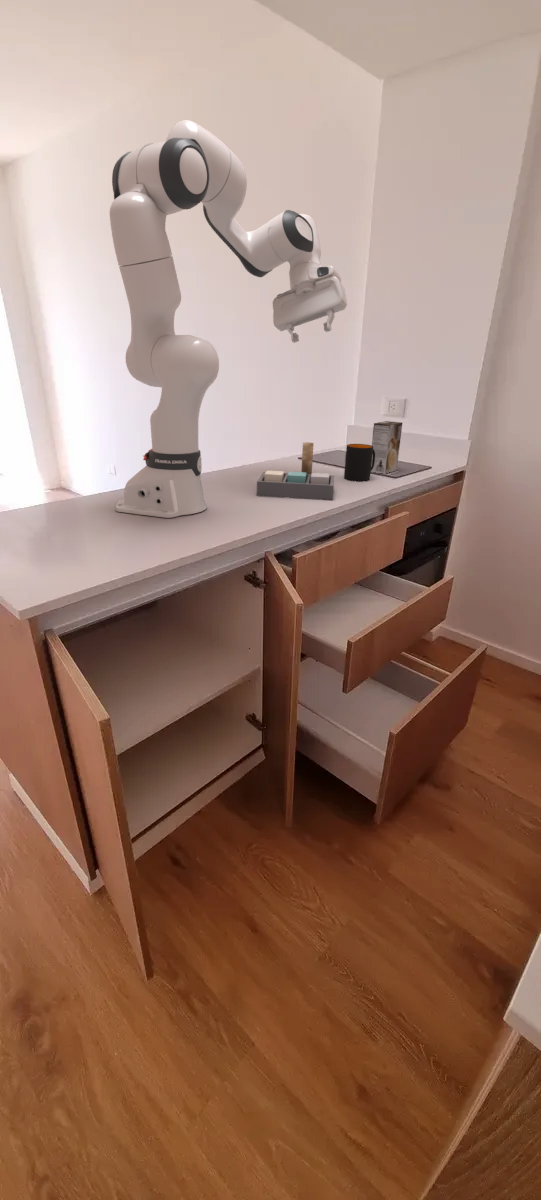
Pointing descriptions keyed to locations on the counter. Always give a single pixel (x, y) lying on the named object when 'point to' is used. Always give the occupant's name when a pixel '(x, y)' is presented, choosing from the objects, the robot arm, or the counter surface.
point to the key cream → (274, 476)
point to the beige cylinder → (307, 457)
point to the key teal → (297, 477)
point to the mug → (359, 462)
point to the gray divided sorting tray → (295, 488)
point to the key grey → (319, 478)
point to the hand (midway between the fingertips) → (311, 336)
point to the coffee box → (386, 446)
